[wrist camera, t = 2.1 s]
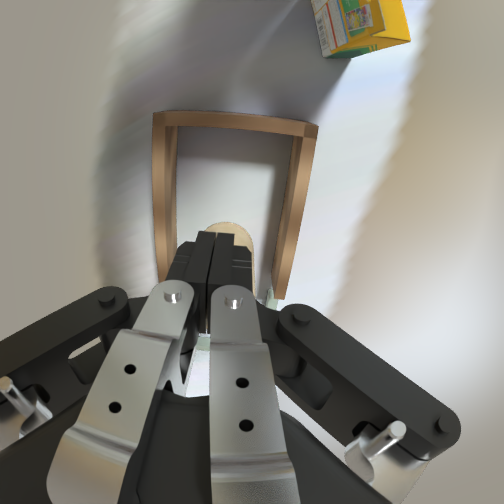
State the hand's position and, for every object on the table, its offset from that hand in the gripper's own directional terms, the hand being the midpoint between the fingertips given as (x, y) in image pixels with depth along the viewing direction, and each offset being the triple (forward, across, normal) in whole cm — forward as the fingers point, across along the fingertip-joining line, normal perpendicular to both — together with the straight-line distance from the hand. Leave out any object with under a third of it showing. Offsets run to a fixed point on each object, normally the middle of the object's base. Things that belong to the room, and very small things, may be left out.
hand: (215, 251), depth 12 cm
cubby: (+14, 0, +3) cm, 14 cm away
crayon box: (+14, -7, -15) cm, 22 cm away
